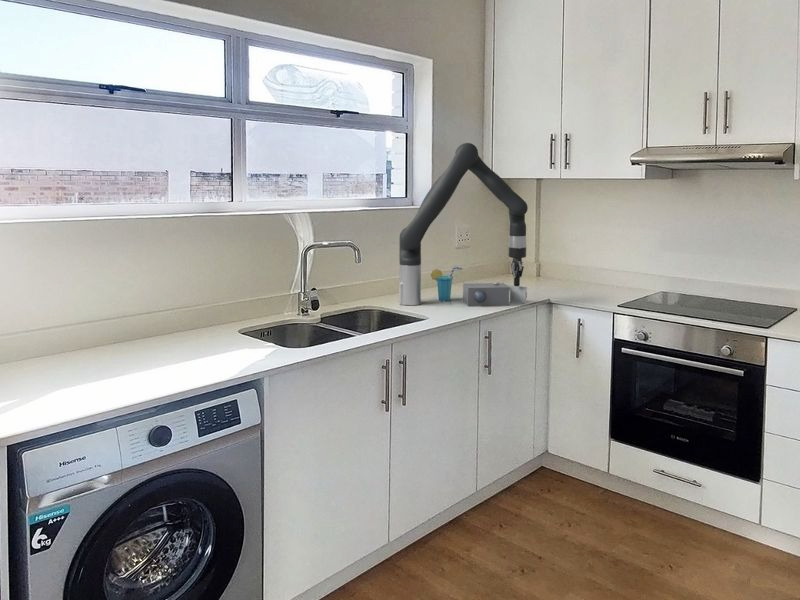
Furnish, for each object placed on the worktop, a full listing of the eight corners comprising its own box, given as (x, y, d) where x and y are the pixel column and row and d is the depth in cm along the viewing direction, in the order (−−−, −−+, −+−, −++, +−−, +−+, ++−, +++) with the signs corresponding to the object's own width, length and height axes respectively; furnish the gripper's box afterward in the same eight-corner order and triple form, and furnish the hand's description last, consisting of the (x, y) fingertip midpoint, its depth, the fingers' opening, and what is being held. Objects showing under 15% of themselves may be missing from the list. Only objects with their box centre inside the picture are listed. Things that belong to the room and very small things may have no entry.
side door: (525, 303, 298) (525, 287, 297) (502, 299, 306) (503, 284, 305) (526, 303, 299) (527, 286, 298) (504, 299, 307) (505, 283, 306)
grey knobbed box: (468, 307, 291) (469, 286, 290) (462, 301, 305) (463, 281, 303) (510, 306, 293) (511, 286, 291) (503, 300, 306) (503, 281, 305)
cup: (458, 298, 313) (458, 265, 310) (464, 301, 305) (464, 267, 302) (428, 299, 309) (429, 266, 306) (433, 302, 302) (434, 268, 299)
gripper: (505, 244, 301) (504, 283, 304) (512, 248, 288) (511, 288, 291) (522, 244, 301) (521, 283, 304) (530, 247, 288) (529, 288, 291)
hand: (516, 286), depth 297 cm, fingers closed
